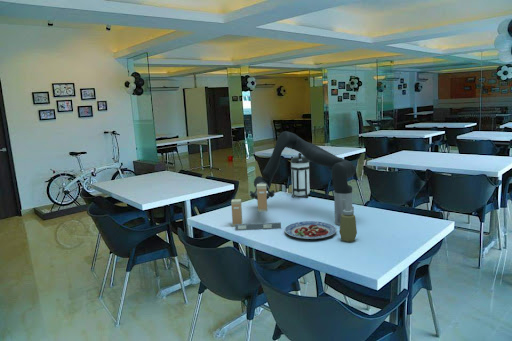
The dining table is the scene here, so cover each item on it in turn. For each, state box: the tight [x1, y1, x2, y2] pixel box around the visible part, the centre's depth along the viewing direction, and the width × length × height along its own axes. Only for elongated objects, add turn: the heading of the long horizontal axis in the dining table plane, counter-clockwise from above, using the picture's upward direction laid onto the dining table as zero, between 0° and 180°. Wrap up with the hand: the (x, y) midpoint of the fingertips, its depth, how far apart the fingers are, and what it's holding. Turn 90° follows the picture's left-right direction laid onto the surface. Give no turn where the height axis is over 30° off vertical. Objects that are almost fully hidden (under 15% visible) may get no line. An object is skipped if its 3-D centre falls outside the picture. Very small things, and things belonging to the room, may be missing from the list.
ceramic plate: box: [284, 220, 337, 240], centre depth 199 cm, size 26×26×3 cm
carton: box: [257, 184, 268, 213], centre depth 212 cm, size 5×5×14 cm
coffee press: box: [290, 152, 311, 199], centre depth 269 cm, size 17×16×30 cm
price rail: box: [234, 221, 282, 231], centre depth 208 cm, size 24×1×3 cm, turn 89°
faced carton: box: [230, 198, 243, 228], centre depth 215 cm, size 5×5×14 cm
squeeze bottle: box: [339, 203, 358, 243], centre depth 185 cm, size 8×8×18 cm
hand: (262, 197), depth 209 cm, fingers closed on carton, 5 cm apart
